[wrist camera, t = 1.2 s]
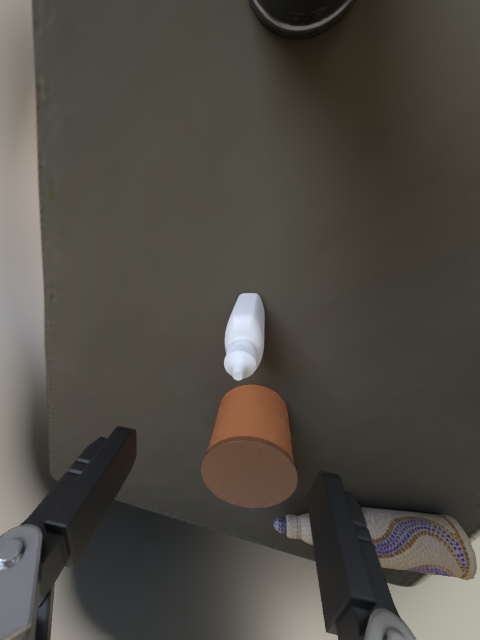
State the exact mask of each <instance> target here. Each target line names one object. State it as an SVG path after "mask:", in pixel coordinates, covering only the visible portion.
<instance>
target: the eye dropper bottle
mask: <svg viewBox="0 0 480 640" xmlns="http://www.w3.org/2000/svg"><path fill="white" fill-rule="evenodd" d="M264 328H265V312H264V307H263V303H262V301H261V298H260V296H259V295H258V294H256V293H243V294H240V295H239V297H238V299H237V301H236V304H235V306H234V309H233V311H232V313H231V316H230V319H229V321H228V324H227V328H226V332H225V350H226V357H225V360H224V365H225V369H226V371H227V372H228V373H229V374H230V375H231V376H233V378H234V379H235V380H238V381H239V380H241V379H242V378H247V377H249V376H251V375H252V374H253V373H254V372H255V370H256V369H257V368H258V366H259V364H260V362H261V359H262V356H263V351H264Z"/></svg>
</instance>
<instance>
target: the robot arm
mask: <svg viewBox="0 0 480 640" xmlns="http://www.w3.org/2000/svg"><path fill="white" fill-rule="evenodd" d="M249 1H250V4H251V6H252V8H253V9H254V11H255V13H256V14H257V16H258V17H259V19H260V20H261V21H262V22H263V23H264V24H265V25H266V26H267V27H268V28H269V29H271V30H272V31H274V32H275V33H277V34H279V35H282V36H284V37H288V38H306V37H311V36H314V35H316V34H319V33H321V32H323V31H324V30H326V29H328V28H329V27H331V26H332V25H333V24H335V23H336V22H337V21H338V20H339V19H340V18H341V17H342V16H343V15H344V14H345V13H346V12H347V10H348V9H349V8H350V7H351V5H352V4H353V3H354V1H355V0H249ZM135 458H136V430H135V429H130V428H125V427H121V426H118V427H116V428H115V429H114V431H113V432H112V433H111V434H110V436H109V437H108V438H104V437H100V438H99V439H97V440H96V441H94V442H93V443H92V444H90V445H89V446H87V448H86V449H85V450H84V451H83V452H82V454H81V455H80V456H79V457H78V458H77V461H75V462H74V463H73V464H72V466H71V467H70V468H69V469H68V472H66V473H65V474H64V475H63V476H62V478H61V479H60V480H59V481H58V483H57V484H56V485H55V486H54V487H53V489H52V490H51V491H50V492H49V493H48V495H47V496H46V497H45V498H44V499H43V501H42V502H41V503H40V504H39V505H38V507H37V508H36V509H35V510H34V511H33V513H32V514H31V515H30V516H29V517H28V518H27V519H26V520H25V521H24V522H23V523H22V524H21V525H19V526H17V527H15V528H12V529H10V530H9V531H7V532H5V533H4V534H2V535H1V536H0V640H50V636H51V622H52V610H53V597H54V585H55V584H54V583H55V581H56V580H57V578H58V576H59V575H60V573H61V571H62V570H63V568H64V566H66V567H70V568H74V569H75V568H76V566H77V564H78V562H79V561H80V558H81V557H82V555H83V554H84V552H85V550H86V548H87V546H88V545H89V543H90V541H91V539H92V538H93V536H94V534H95V532H96V531H97V529H98V527H99V525H100V524H101V522H102V520H103V518H104V517H105V515H106V513H107V511H108V509H109V508H110V506H111V504H112V502H113V501H114V499H115V497H116V495H117V494H118V492H119V490H120V488H121V487H122V485H123V483H124V481H125V480H126V478H127V476H128V474H129V472H130V471H131V469H132V467H133V464H134V462H135ZM308 512H309V519H310V526H311V533H312V540H313V546H314V553H315V560H316V566H317V574H318V580H319V587H320V594H321V601H322V607H323V615H324V621H325V628H326V632H328V633H332V634H336V635H338V640H416V638H415V636H414V635H413V633H412V632H411V630H410V629H409V627H408V626H407V625H406V624H405V623H404V621H403V620H402V619H401V618H400V616H399V614H398V612H397V610H396V608H395V605H394V603H393V600H392V597H391V594H390V591H389V588H388V585H387V582H386V579H385V576H384V573H383V570H382V567H381V565H380V562H379V559H378V556H377V553H376V550H375V547H374V544H373V543H372V538H371V535H370V532H369V529H368V528H367V523H366V520H365V517H364V514H363V511H362V508H361V507H360V505H359V504H358V502H357V501H356V499H355V498H354V496H353V494H352V493H350V492H345V491H344V489H343V485H342V482H341V479H340V477H339V475H338V474H334V473H329V472H324V471H318V473H317V475H316V478H315V480H314V482H313V485H312V487H311V489H310V492H309V496H308Z"/></svg>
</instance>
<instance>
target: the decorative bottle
mask: <svg viewBox="0 0 480 640" xmlns="http://www.w3.org/2000/svg"><path fill="white" fill-rule="evenodd" d="M361 508H362V511H363V514H364V517H365V520H366V523H367V528H368V529H369V532H370V535H371V538H372V543H373V544H374V547H375V550H376V553H377V556H378V559H379V562H380V565H381V567H383V568H391V569H397V570H406V571H413V572H421V573H426V574H434V575H443V576H452V577H459V578H461V579H465V580H469V579H473V578H474V576H475V574H476V569H477V565H476V556H475V552H474V550H473V549H472V546H471V542H470V540H469V538H468V537H467V535H466V533H465V532H464V530H463V529H462V527H461V526H460V525H459V524H458V522H457V520H455V519H454V518H453V517H451V516H448V515H445V514H428V513H419V512H408V511H397V510H388V509H377V508H366V507H361ZM273 526H274V527H275V530H277V531H278V532H280V533H282V534H283V533H285V534H287V537H288V538H292V539H302V540H303V541H305V542H306V543H308V544H311V545H313V540H312V533H311V526H310V519H309V513H306V514H302V515H300V516H298V515H293V514H288V515H286V517H285V518H282V517H278V518H276V517H275V519H274V520H273Z"/></svg>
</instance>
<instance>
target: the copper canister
mask: <svg viewBox="0 0 480 640" xmlns="http://www.w3.org/2000/svg"><path fill="white" fill-rule="evenodd" d="M201 473H202V477H203V480H204V482H205V484H206V485H207V487H208V488H209V489H210V490H211V491H212V492H213V493H214V494H215V495H216V496H218V497H219V498H221V499H223V500H224V501H226V502H229V503H231V504H234V505H237V506H241V507H247V508H264V507H270V506H274V505H277V504H279V503H281V502H283V501H285V500H286V499H287V498H289V497H290V496H291V495H292V493H293V492H294V490H295V488H296V486H297V480H298V477H297V469H296V466H295V463H294V460H293V451H292V442H291V434H290V425H289V416H288V409H287V406H286V403H285V402H284V400H283V399H282V398H281V396H280V395H278V394H277V393H276V392H275V391H273V390H271V389H269V388H267V387H264V386H260V385H251V384H250V385H242V386H238V387H236V388H233V389H232V390H230V391H229V392H228V393H226V394H225V396H224V397H223V398H222V400H221V402H220V406H219V409H218V413H217V417H216V421H215V424H214V428H213V432H212V436H211V439H210V443H209V447H208V450H207V452H206V454H205V456H204V458H203V462H202V466H201Z"/></svg>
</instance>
